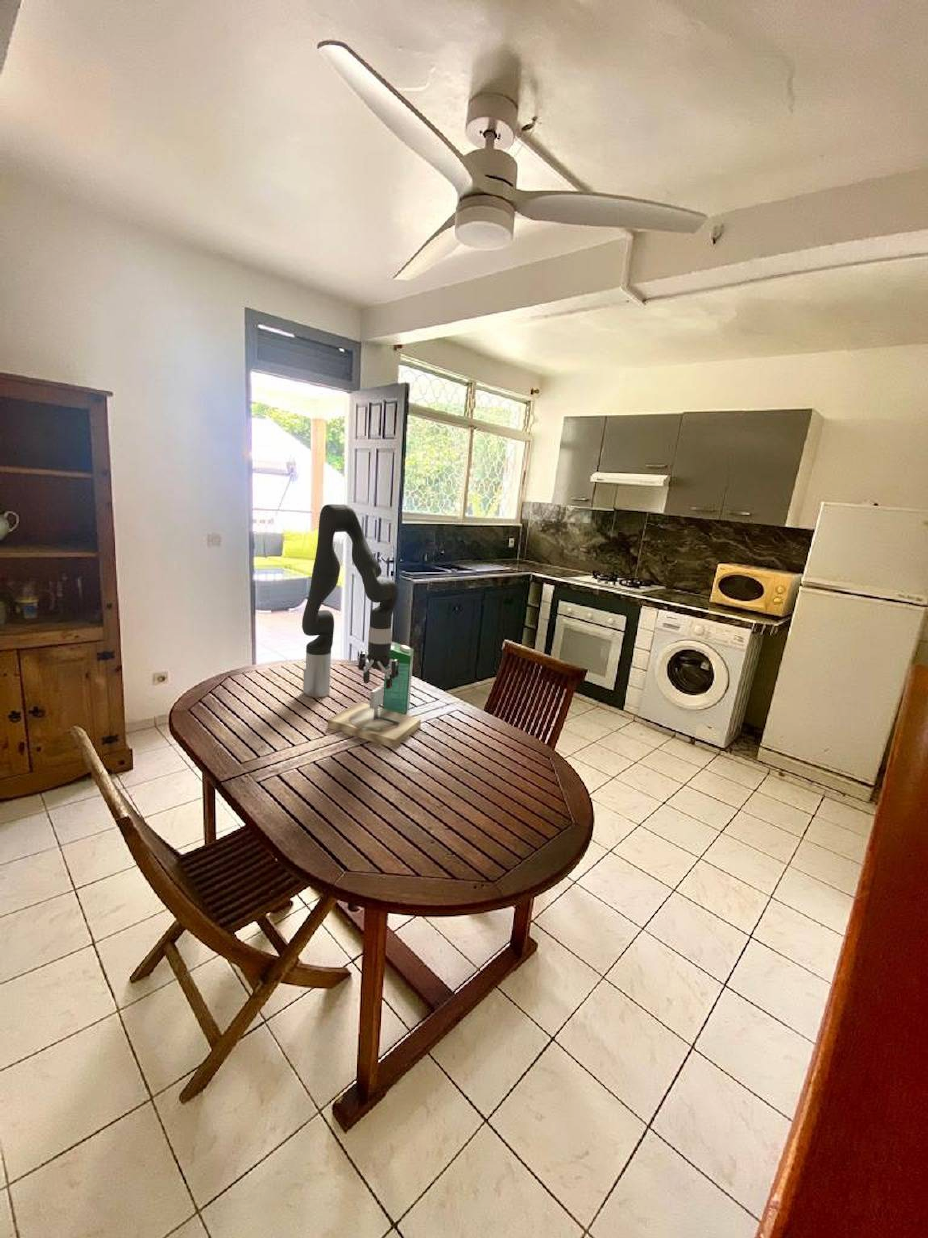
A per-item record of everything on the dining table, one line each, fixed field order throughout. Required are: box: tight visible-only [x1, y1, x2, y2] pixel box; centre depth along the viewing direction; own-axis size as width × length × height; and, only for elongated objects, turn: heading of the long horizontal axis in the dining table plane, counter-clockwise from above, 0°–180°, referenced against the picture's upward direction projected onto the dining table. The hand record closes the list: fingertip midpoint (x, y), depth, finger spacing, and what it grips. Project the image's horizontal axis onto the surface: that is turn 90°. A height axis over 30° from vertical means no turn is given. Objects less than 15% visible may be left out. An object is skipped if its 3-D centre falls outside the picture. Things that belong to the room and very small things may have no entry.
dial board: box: [327, 701, 422, 749], centre depth 171 cm, size 26×18×3 cm
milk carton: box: [382, 640, 415, 715], centre depth 186 cm, size 9×9×25 cm
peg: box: [369, 685, 399, 724], centre depth 168 cm, size 10×6×11 cm, turn 67°
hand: (377, 685), depth 168 cm, fingers open, 8 cm apart
